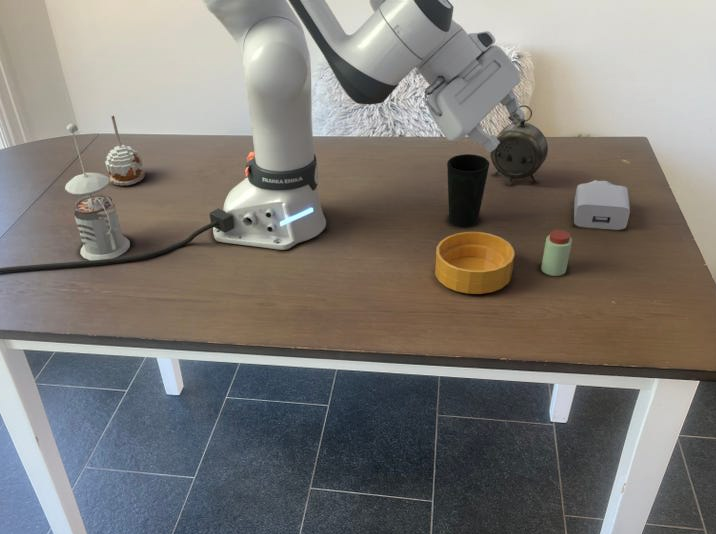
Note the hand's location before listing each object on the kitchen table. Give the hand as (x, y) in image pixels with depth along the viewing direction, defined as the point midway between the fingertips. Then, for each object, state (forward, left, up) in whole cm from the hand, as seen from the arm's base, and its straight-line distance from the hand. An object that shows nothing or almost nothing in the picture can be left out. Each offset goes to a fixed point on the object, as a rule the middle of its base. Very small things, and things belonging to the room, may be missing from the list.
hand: (508, 134), depth 113 cm
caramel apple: (-80, +32, -24) cm, 89 cm away
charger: (+22, +20, -24) cm, 38 cm away
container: (+10, -2, -24) cm, 26 cm away
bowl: (-4, -4, -24) cm, 24 cm away
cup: (-5, +15, -24) cm, 29 cm away
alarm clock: (+6, +32, -24) cm, 41 cm away
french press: (-74, +2, -24) cm, 77 cm away
